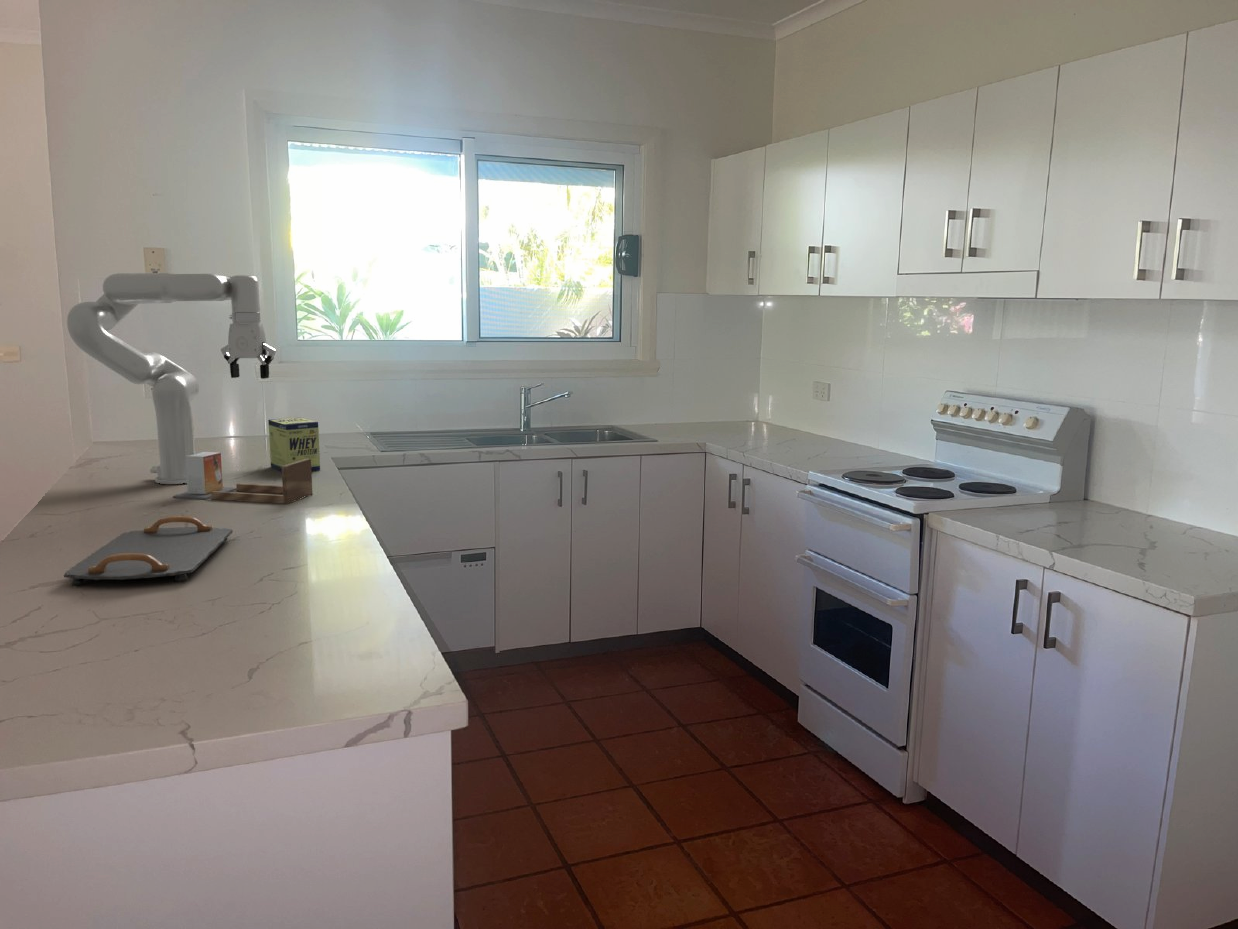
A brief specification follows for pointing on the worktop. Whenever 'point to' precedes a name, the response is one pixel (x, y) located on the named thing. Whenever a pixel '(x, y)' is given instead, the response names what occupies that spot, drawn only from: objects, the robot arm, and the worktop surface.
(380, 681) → the worktop surface
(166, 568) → the serving board
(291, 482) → the lane rack
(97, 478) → the worktop surface
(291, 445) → the protein box
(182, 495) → the mat
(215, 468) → the small box
